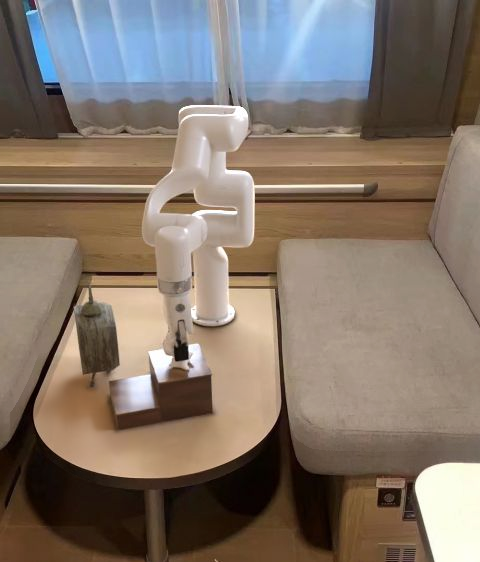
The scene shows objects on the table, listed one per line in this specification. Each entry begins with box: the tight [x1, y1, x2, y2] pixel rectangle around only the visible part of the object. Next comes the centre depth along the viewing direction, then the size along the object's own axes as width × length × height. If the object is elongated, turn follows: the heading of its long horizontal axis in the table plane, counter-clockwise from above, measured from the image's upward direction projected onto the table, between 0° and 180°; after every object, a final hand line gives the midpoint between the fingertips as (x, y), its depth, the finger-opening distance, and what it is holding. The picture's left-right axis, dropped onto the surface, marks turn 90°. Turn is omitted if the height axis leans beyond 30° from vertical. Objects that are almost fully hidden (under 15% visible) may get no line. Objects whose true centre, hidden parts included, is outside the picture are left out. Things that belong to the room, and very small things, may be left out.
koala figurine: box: [162, 330, 193, 370], centre depth 171 cm, size 8×7×12 cm
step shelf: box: [108, 343, 214, 431], centre depth 175 cm, size 13×22×11 cm, turn 105°
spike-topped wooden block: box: [73, 282, 121, 388], centre depth 184 cm, size 14×9×25 cm, turn 13°
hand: (178, 351), depth 173 cm, fingers closed on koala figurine, 5 cm apart
